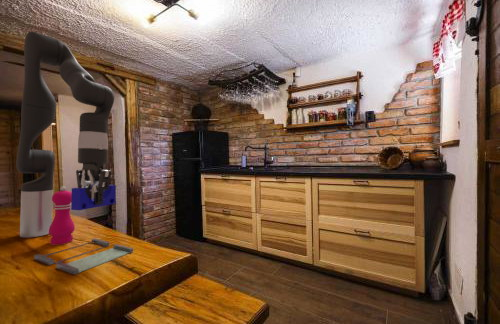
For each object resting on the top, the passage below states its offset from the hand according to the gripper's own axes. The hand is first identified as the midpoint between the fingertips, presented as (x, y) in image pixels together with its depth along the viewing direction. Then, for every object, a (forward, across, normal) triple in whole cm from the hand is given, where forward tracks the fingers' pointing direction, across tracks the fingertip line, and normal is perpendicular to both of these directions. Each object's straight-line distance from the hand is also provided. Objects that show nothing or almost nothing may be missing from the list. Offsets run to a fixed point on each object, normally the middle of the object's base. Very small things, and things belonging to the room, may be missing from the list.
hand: (92, 203), depth 69 cm
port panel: (+16, -4, 0) cm, 17 cm away
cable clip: (+1, 0, 0) cm, 1 cm away
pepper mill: (+16, -24, +3) cm, 29 cm away
